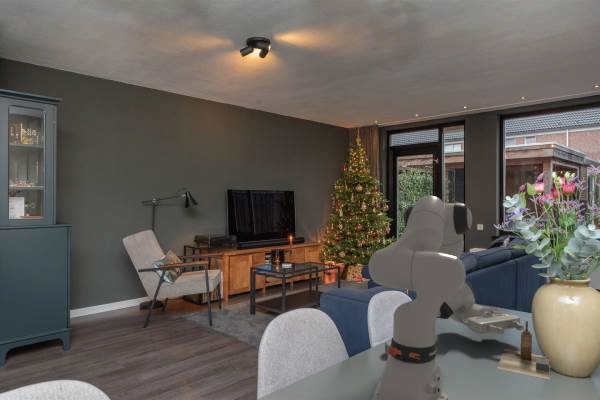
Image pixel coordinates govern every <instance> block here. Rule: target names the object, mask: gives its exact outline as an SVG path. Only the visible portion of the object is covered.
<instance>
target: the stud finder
mask: <svg viewBox="0 0 600 400" xmlns="http://www.w3.org/2000/svg"><path fill="white" fill-rule="evenodd" d="M540 356H541V357H538V356H537V359H536V370H541V371H545V372H549V361H550V360H548V359H547V358H545V357H546V356H545V357H542V356H543V355H540Z"/></svg>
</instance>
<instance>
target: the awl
mask: <svg viewBox="0 0 600 400" xmlns="http://www.w3.org/2000/svg"><path fill="white" fill-rule="evenodd" d="M532 344H533V333H531V331H530V330H529V321H528V320H526V321H525V329H524V330H522V331H520V352H521V358H523V359H531V357H532V354H533V351H532V350H533V345H532Z"/></svg>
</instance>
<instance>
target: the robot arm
mask: <svg viewBox="0 0 600 400" xmlns="http://www.w3.org/2000/svg"><path fill="white" fill-rule="evenodd" d="M472 223H473V215H472V212H471V210H470V208H469V206H468V205H467V204H465V203H463V202H462V203H461V202H454V203H451V202H450V203H449V202H448V203H446V202H443V201H442V199H440V198H439V197H437V196H434V195H424V196H422V197H420V198H419V199H418V200H416V202H415V204H414V205H411V206H410V205H409V207H407V208H406V209H405V210H404V213H403V225H404V228H405V229H404V231H403V232H402V235H401V236H400V237H399V238H397V240H396V241H394V242H393V243H392V244H389V245H388V246H386V247H384V248H381V249H377V250H376V251H375V252H374V253H373V254H371V257H370V259H369V261H368V273H369V276H370V278H371V281H372V282H374V284H377V285H380V286H383V287H387V288H390V289H395V290H403V291H404V290H406V291H413V292H416V297H415V298H414V299H413V300H410V301H409V300H408V301H407V302H404V303H402V304H400V305H399V306H397V308H396V309H395V310H394V313H393V319H392V320H393V323H392V325H393V326H392V327H393V329H392V330H393V331H392V333H393V334H392V337H391V340H390V342H391V345H390V347H389V350H388V353H389V355H388V357H387V360H386V364H385V366H384V370H383V373H382V376H381V379H379V381H378V384H377V386H376V389H375V391H374V393H373V395H372V396H373V397H372V398H371V400H449V396H448V395H447V394H446V393H444V392H443V371H442V366H441V365H440V364H439V363H438V361H437V359H436V358H437V351H438V348H437V342H436V326H437V319H440V320H441V319H442V320H448V319H452V320H453V321H455V322H457V323H458V324H462V325H465V326H466V327H467V329H469V331H470V330H471V331H472V332H474V333H477V334H486V333H497V334H499V335H501V334H502V335H503V334H504V333H505V331H506V330H510V329H516V330H518V331H520V332H522V331H523V330H525V329H524V327H525V326H524V325H523V324H521V318H520V317H519V316H518V315H515V314H512V313H511V312H507V311H504V310H502V309H501V308H499V307H487V306H483V305H479V304H476V297H475V291H474V288H473V286H472V285H471V284H470V283H469V282H468V281H467V280H466V278H467V277H466V276H467V272H466V267H465V265H464V263H463V262H462V260H461V259H460V257H461V255H462V254H463V251H464V248H465V247H464V246H465V245H464V243H465V242H464V241H465V240H464V237H463V236H464V234H467V233H469V231H470V230H471V228H472Z"/></svg>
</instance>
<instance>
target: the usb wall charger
mask: <svg viewBox="0 0 600 400" xmlns="http://www.w3.org/2000/svg"><path fill="white" fill-rule="evenodd" d="M390 345H391V341H385V342H384V354H385V356H386V357H387V358H388V355H389V353H388V350H389V347H390Z"/></svg>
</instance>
